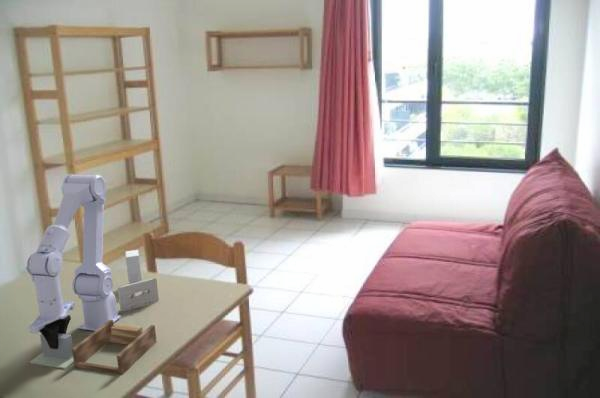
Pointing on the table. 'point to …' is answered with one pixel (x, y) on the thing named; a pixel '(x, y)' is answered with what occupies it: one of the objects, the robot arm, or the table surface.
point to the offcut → (124, 333)
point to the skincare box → (133, 266)
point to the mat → (52, 361)
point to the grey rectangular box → (63, 347)
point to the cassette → (140, 299)
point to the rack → (123, 358)
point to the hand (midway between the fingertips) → (57, 345)
